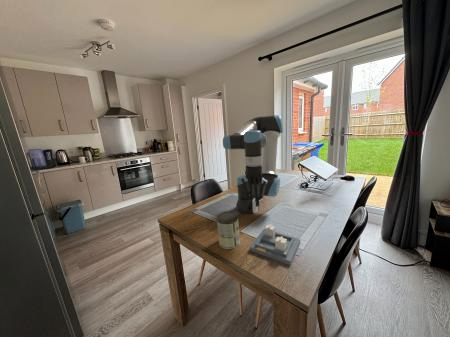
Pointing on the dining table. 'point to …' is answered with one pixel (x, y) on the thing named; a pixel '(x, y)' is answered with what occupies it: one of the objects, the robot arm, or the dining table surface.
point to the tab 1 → (270, 230)
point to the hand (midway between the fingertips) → (255, 211)
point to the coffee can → (228, 230)
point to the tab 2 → (281, 244)
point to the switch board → (267, 247)
